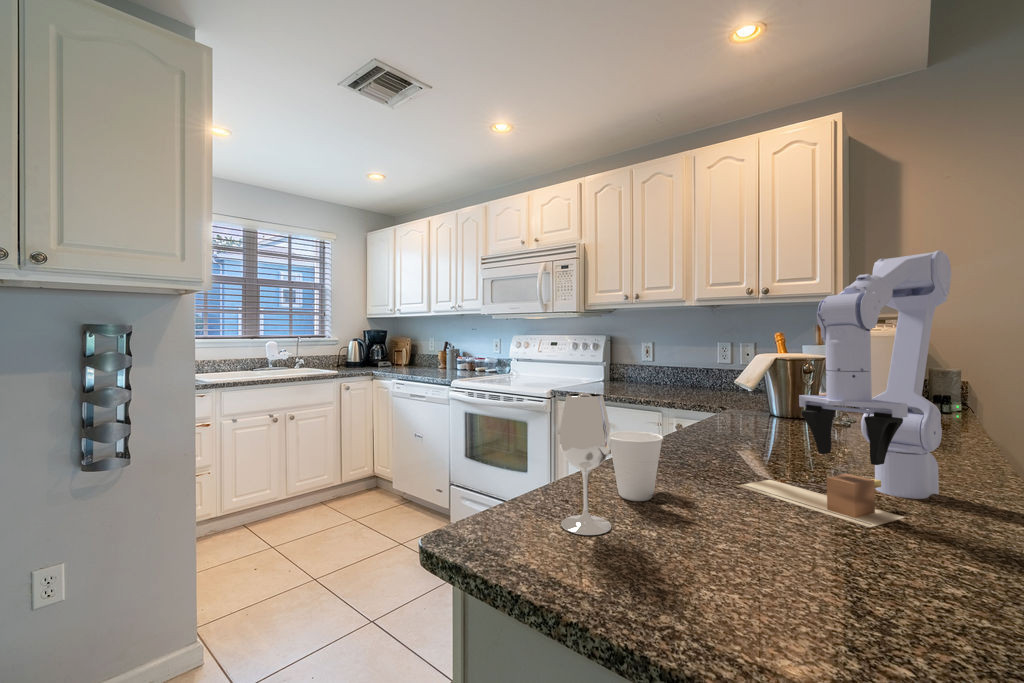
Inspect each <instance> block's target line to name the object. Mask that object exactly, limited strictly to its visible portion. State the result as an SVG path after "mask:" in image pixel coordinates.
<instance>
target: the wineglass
mask: <svg viewBox="0 0 1024 683" xmlns="http://www.w3.org/2000/svg"><path fill="white" fill-rule="evenodd" d="M611 433H612V432H611V427H610V423H609V417H608V411H607V406H606V404H605V400H604V396H603V394H601V393H591V392H575V393H574V392H573V393H567V394H566V397H565V402H564V405H563V411H562V417H561V421H560V427H559V448H560V451H561V454H562V455H563V457H564V458H565V460H566V461H567V462H568V463H569V464H570V465H571V466H573V467H574V468H576V469H579V470H580V472H581V474H582V485H583V487H582V488H583V492H582V493H583V494H582V496H583V510H582V514H578V515H577V514H576V515H571V516H568V517H566V518H564V519H563V520H562V521H561V523H560V525H561V528H563V529H564V530H565V531H567V532H569V533H571V534H575V535H581V536H598V535H603V534H606V533H607V532H610V531H611V529H612V524H611V522H610V521H608V520H607V519H606V518H603V517H600V516H596V515H591V514H590V511H589V476H590V471H591V470H593V469H594V470H595V469H596V468H597V467H600V466H601V464H603V463H604V462H605V461H606V459H607V458H608V456H609V455H610V453H611Z"/></svg>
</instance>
